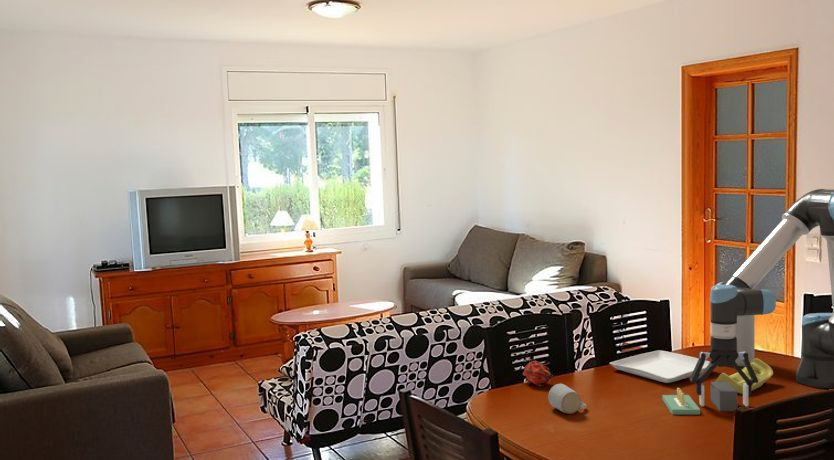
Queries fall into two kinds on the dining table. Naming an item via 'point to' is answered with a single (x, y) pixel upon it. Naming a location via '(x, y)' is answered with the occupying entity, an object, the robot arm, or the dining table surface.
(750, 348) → the cylinder vase
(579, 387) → the dining table surface
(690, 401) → the header board
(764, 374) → the plastic component
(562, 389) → the ceramic mug
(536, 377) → the dragon fruit
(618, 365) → the square plate
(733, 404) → the plug housing
